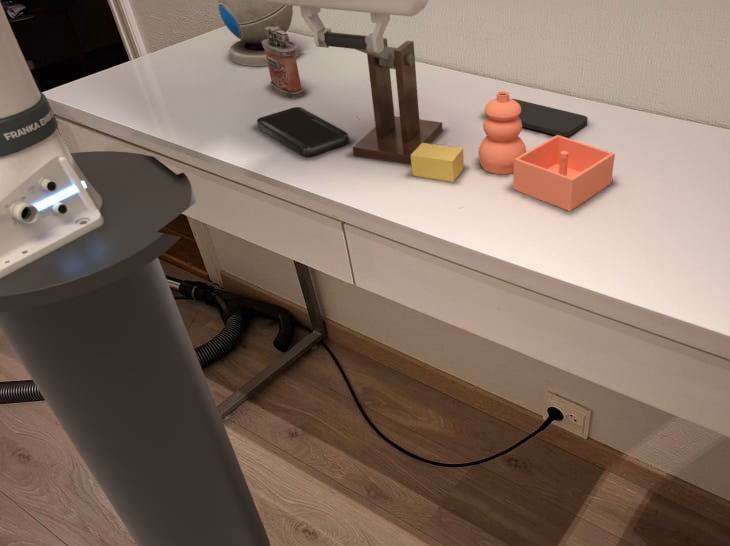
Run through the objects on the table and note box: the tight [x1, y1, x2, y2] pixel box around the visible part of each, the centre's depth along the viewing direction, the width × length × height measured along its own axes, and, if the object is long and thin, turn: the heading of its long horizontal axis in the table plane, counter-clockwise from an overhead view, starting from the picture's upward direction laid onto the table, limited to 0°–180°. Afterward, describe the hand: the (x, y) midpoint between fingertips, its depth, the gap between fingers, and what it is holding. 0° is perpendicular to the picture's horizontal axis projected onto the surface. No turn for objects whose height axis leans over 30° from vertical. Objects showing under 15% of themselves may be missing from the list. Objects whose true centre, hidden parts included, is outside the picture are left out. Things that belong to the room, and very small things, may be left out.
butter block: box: [410, 143, 465, 183], centre depth 91 cm, size 4×6×3 cm, turn 71°
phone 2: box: [485, 98, 589, 138], centre depth 104 cm, size 7×1×15 cm
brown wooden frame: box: [352, 37, 444, 165], centre depth 95 cm, size 12×9×14 cm
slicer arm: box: [325, 31, 398, 70], centre depth 86 cm, size 14×6×2 cm, turn 161°
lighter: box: [262, 26, 305, 99], centre depth 112 cm, size 8×3×10 cm, turn 42°
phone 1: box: [256, 106, 350, 157], centre depth 101 cm, size 8×1×15 cm
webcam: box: [217, 0, 301, 67], centre depth 124 cm, size 13×13×15 cm
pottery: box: [478, 90, 616, 212], centre depth 88 cm, size 18×10×10 cm, turn 49°
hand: (350, 48), depth 81 cm, fingers closed on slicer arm, 5 cm apart
